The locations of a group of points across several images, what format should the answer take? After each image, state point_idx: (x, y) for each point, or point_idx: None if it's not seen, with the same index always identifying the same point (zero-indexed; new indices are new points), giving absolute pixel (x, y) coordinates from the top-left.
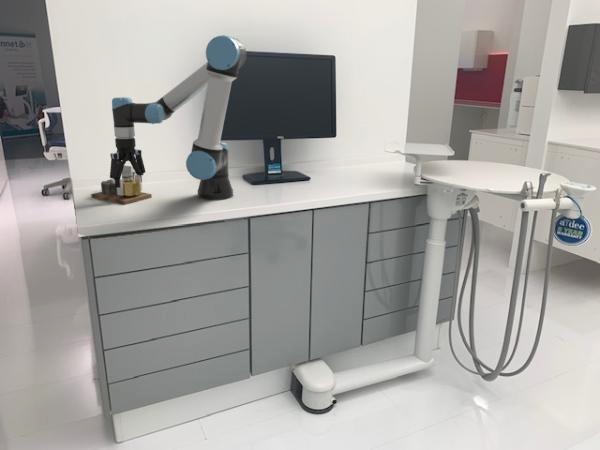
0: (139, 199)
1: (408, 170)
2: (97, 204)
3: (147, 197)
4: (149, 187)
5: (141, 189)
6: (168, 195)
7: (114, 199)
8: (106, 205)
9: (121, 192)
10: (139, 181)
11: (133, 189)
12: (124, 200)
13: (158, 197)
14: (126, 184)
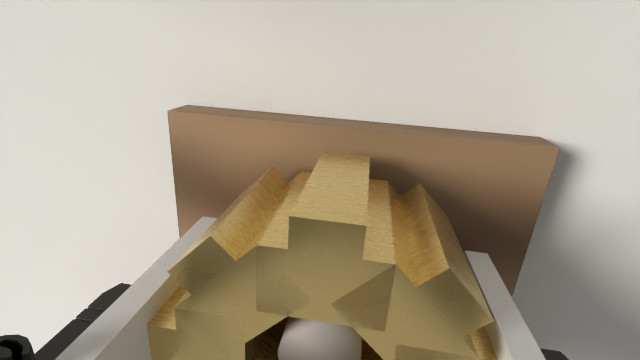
0: (341, 122)
1: None
2: (615, 347)
3: (235, 111)
4: (12, 325)
5: (198, 223)
6: (30, 17)
7: (510, 289)
8: (625, 269)
9: (497, 280)
10: (212, 243)
11: (373, 206)
12: (538, 168)
13: (142, 49)
14: (485, 306)
